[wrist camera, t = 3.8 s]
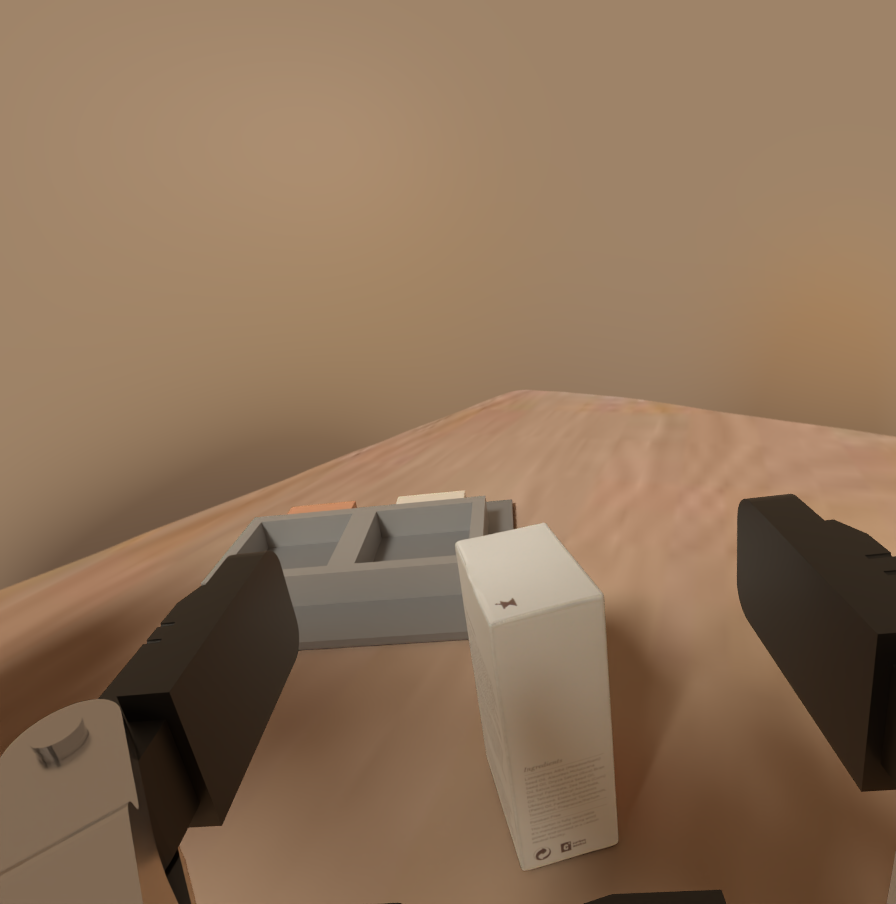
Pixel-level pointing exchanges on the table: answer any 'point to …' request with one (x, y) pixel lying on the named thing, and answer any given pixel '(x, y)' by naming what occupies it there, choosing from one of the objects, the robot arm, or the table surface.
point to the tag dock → (375, 566)
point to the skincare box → (542, 691)
